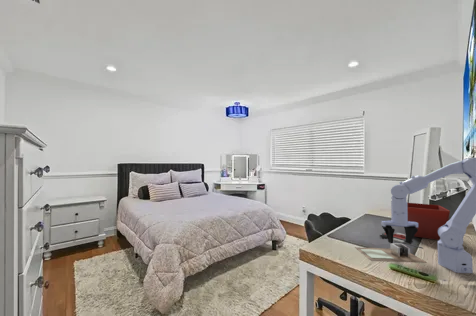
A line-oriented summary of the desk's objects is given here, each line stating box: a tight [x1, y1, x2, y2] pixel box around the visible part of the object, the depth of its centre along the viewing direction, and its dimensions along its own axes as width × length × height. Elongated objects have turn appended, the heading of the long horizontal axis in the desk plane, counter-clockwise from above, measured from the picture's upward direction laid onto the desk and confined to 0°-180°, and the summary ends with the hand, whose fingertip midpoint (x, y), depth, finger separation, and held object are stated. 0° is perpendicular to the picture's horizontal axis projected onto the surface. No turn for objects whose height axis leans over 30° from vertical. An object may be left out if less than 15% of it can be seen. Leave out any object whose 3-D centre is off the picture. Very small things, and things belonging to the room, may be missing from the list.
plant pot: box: [407, 202, 451, 241], centre depth 123 cm, size 19×19×17 cm
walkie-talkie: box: [379, 231, 424, 249], centre depth 111 cm, size 9×4×20 cm
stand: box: [354, 247, 428, 264], centre depth 94 cm, size 14×22×4 cm, turn 86°
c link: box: [389, 242, 411, 257], centre depth 94 cm, size 5×5×4 cm
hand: (399, 242), depth 94 cm, fingers open, 7 cm apart
